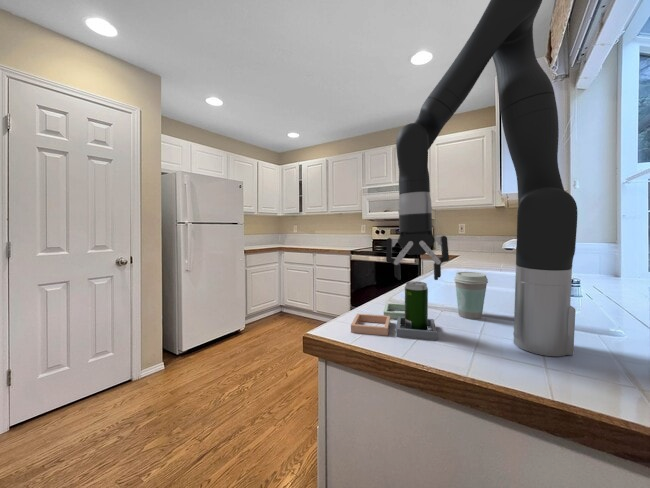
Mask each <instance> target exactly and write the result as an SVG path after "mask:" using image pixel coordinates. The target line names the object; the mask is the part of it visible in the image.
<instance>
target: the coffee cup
mask: <svg viewBox="0 0 650 488" xmlns="http://www.w3.org/2000/svg"><path fill="white" fill-rule="evenodd" d="M453 280H454V285H455V291H456V302H457V310H458V311H457V313H458V315H459V317H461V318H464V319H469V320H479V319H481V318H482V316H483V311H484V304H485V299H486V298H485V297H486V292H487V284H488V283H489V282H488V281H489V280H488V277H487V274H485V273H482V272H475V271H458V272H456V273H455V276H454V279H453Z"/></svg>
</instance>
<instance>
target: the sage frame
mask: <svg viewBox="0 0 650 488" xmlns="http://www.w3.org/2000/svg"><path fill="white" fill-rule="evenodd" d="M389 310H390V311H389ZM393 310H394V311H393ZM402 311H404V312H402ZM383 316H390V320H392V319H393V320H397V319H398V317H405V303H394V302H393V303H392V302H385V306H384V309H383Z"/></svg>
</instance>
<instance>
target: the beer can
mask: <svg viewBox="0 0 650 488" xmlns="http://www.w3.org/2000/svg"><path fill="white" fill-rule="evenodd" d="M428 298H429V289H428V283H426V282H424V281H407V282H405V286H404V304H405V311H404V313H405V325H404V329H416V330H428V331H429V327H428V319H429V318H428V314H429V313H428V311H429V310H428V309H429V308H428V307H429V306H428V305H429V299H428Z"/></svg>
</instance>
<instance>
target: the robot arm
mask: <svg viewBox="0 0 650 488" xmlns="http://www.w3.org/2000/svg"><path fill="white" fill-rule="evenodd" d="M542 3H543V0H489V3H488V4H487V7H486V8H485V9H484V11H483V13H482V15H481V18H480V19H479V20H478V23H477V24H476V26H475V28H474V29H473V31H472V33H471V34H470V36H469V38H468V39H467V41H466V42H465V44H464V45H463V47H462V48H461V50H460V52H459V53H458V55H457V56H456V58H455V59H454V60H453V62H452V63H451V64H450V66H449V67H448V69H447V70H446V72H445V73H444V74H443V76H442V77H441V79H440V80H439V81H438V83H437V84H436V86H435V87H434V88H433V89H432V91H431V92H430V94H429V95H428V96H427V98H426V99H425V100H424V102H423V104H422V105H421V107H420V111H419V114H418V116H417V118H416V119H415V120H414V122H411V123H408V124H406V125H404V126H403V127H402V128H401V129H400V130H399V131H398V134H397V135H396V140H395V141H396V142H395V147H396V158H397V167H398V210H397V211H398V225H399V226H398V229H399V231H398V232H399V234H398V235H399V236H398V238H393V237H388V238H387V239H386V255H385V256H386V257H385V258H386V259H385V261H386V262H387V263H391V264H392V265H394V266H393V268H394V269H393V270H394V278H396V279H397V280H398V281H401V277H402V276H401V264H400V263H401V262H402V260H403V258H405V256H406V254H407V255H409V256H415V255H418V256H423V255H425V254H427V256H429V257H430V258H431V260H433V279H434V281H439V278H441V276H442V269H441V268H442V267H441V265H442V264H443V263H446V262H449V260H450V256H449V246H448V245H449V243H448V237H447V236H446V235H440V236H434V235H433V214H432V213H433V212H432V211H433V207H432V199H431V184H430V183H431V182H430V172H429V167H428V166H429V150H430V148H431V147H432V146H433V144H434V142H435V141H436V140H437V137H438V136H439V135H440V133H441V131H442V130H443V128H444V127H445V126H446V124H447V123H448V122H449V121H450V119H451V118H452V117H453V116H454V115H455V113H456V112H457V111H458V109H459V108H460V106H461V105H462V104H463V103H464V101H465V100H466V98H467V97H468V96H469V95H470V93H471V91H472V90H473V88H474V86H475V85H476V83H477V81H478V80H479V78H480V76H481V74H483V71H484V70H485V68H486V67H487V65H488V64H489V62H490V61H491V60H492V59H493V62H494V63H493V64H494V67H495V72H496V78H497V79H496V82H497V93H498V100H499V101H498V103H499V109H500V118H501V123H502V129H503V133H504V137H505V138H504V139H505V141H506V142H505V143H506V145H507V149H508V153H509V156H510V158H511V162H512V165H513V167H514V171H515V176H516V183H517V186H516V187H517V215H516V219H517V220H516V246H515V248H516V249H515V276H514V277H515V279H514V280H515V281H514V282H515V284H514V285H515V286H514V311H513V313H514V315H513V344H515V346H516V347H518V348H520V349H522V350H524V351H527V352H530V353H533V354H536V355H541V356H546V357H563V356H567V355H568V356H569V355H570V356H574V350H575V347H574V346H575V331H576V330H575V326H576V324H575V323H576V307H574V306H572V305H571V300H572V299H571V296H572V278H573V276H572V274H573V261H574V256H575V254H576V253H575V252H576V243H577V242H576V241H577V231H578V206H577V202H576V200H575V198H574V197H573V196H572V195H571V194H570V193H569V192H567V191H566V190H565V189H564V185H563V182H562V177H561V174H560V168H559V162H558V157H559V155H558V154H559V153H558V152H559V126H560V125H559V115H558V114H559V113H558V106H557V102H556V101H557V98H556V95H555V89H554V86H553V83H552V81H551V79H550V78H549V76H548V75H547V73H546V72H545V70H544V69H543V68H542V66H541V65H540V63H539V62H538V59H537V57H536V52H535V44H534V30H533V29H534V22H535V19H536V17H537V14H538V12H539V10H540V7H541V5H542ZM435 242H436V243H437V245H438V246H440V248H441V250H440V251H441V256H439V257H438V256H437V255H436V254H435V252H434V251H433V250H432V249H431V248H432V246H433V244H434V243H435ZM397 243H398V245H399V246H400V247H401V248H402V249H401V250H400V251H399V254H398V255H396V257H393V248H394V247H395V246H396V244H397Z"/></svg>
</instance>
